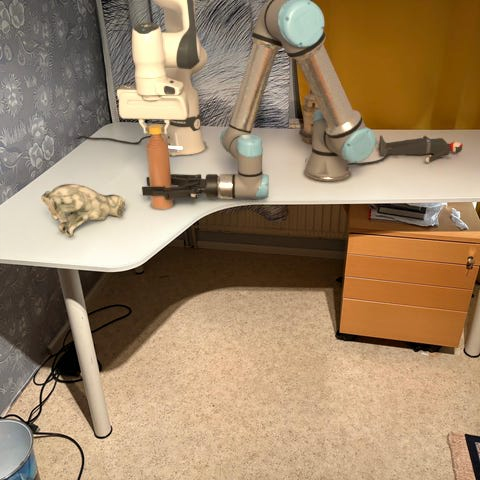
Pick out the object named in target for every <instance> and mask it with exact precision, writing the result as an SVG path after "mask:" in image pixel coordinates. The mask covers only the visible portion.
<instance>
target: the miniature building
mask: <svg viewBox="0 0 480 480" xmlns="http://www.w3.org/2000/svg"><path fill="white" fill-rule="evenodd" d="M302 98H303V105H301V106H302V109H303V114H302V115H303V124H302V127H300V129H299V132H298V134H299V136H300V137H302V139H303V141H305V142H307V143H309V144H312V135H313V118H314V113H315V111H317V110H319V109H320V108H319V106H318V104H317V102H316V100H315V98H314V96H313V94H312V91H311V89H310V88H309V93H307V94H306V95H304V96H303V97H302Z"/></svg>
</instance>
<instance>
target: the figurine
mask: <svg viewBox="0 0 480 480" xmlns="http://www.w3.org/2000/svg"><path fill="white" fill-rule="evenodd" d="M40 200H41V201H42V202H43V204H44V205H46V206H47V207H48V211H49V213H50V215H52V216H51V217H52V219H53V220H55V221H59V223H60V224H59V225H58V226H57V228H58V230H59V232H60V233H61V234H64V233H65V234H66V236H67V237H69V238H71V237H73V235H74V230H75V229H77V228H78V227H79V226H81V225H82V224H84V223H86V222H87V221H89V220H91V221H101V220H102V221H104V220H105V219H106V218H107V217H108V215H110V216H112V217H119V218H121V217H123V211H124V209H125V208H126V202H125V201H126V199H125V198H124V197H123V196H120V195H118V194H114V193H113V194H112V193H111V194H101V193H99V192H98V191H96V190H94V189H93V188H90V187H88V186H85V185H81V184H78V183H77V184H76V183H64V184H60V185H58V186H56V187H54V188H52V190H51V191H50V190H46V191H45V192H44V193H43V194H42V195H41V196H40ZM66 214H67V215H66Z"/></svg>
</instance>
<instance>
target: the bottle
mask: <svg viewBox="0 0 480 480" xmlns="http://www.w3.org/2000/svg"><path fill="white" fill-rule="evenodd" d="M150 135H152V134H150ZM145 148H146V149H145V150H146V158H147V159H146V160H147V169H148V170H147V171H148V177H149V180H150V186H149V187H163V186H165V188H169V187H173V185H172V183H171V174H172V172H171V159H170V155H169V146H168V143H167V141H166V140H165V139H164V137H163V136H162V135H161V134H158V135H152V136H151V137H150V138H148V140H147V141H146V145H145ZM150 197H151V198H150V199H151V206H152V208H154V209H156V210H166V209H170V208H171V207H173V206H174V199H165V197H164V196H150Z"/></svg>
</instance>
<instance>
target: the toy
mask: <svg viewBox="0 0 480 480" xmlns="http://www.w3.org/2000/svg"><path fill="white" fill-rule="evenodd" d="M448 144H450V145H448ZM378 147H379V156H380V157H384V156H386V155H387V154H391V155H395V156H396V155H417V156H423V155H426V154H430V155H429V156H428V157H425V162H426V163H431V162H434V161H435V160H436V159H439V158H446V157H448V156H449V154H450V152H451V153H455V154H459V153H461V152H462V150H463V147H464V146H463V143H462V142H460V141H452V142H450V143H448V142H447V141H446V140H445V139H444V138H443V137H438V138H429V137H428V136H427V135H420V136H419V138H412V139H404V140H399V141H390V142H386V141H385V139H384V137H383V135H382V134H381V135H379V144H378ZM432 154H433V155H432Z"/></svg>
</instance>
